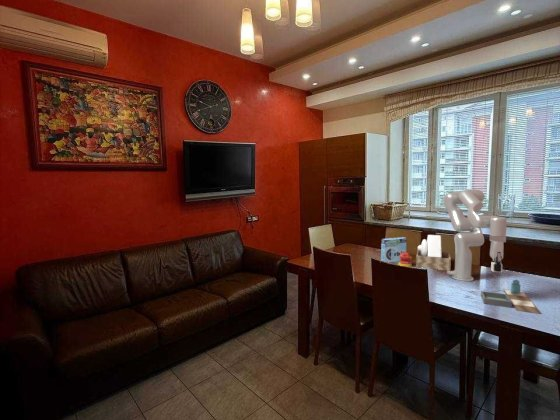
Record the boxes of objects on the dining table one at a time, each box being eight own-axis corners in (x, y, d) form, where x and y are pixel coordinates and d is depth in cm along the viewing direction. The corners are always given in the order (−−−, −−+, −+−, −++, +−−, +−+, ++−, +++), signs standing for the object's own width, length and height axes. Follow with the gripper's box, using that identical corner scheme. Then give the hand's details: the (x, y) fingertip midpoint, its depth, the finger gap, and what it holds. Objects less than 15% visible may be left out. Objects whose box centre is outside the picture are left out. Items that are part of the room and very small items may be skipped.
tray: (483, 303, 162) (484, 298, 161) (480, 296, 172) (480, 291, 172) (511, 307, 156) (511, 302, 156) (506, 299, 167) (506, 294, 167)
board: (516, 310, 153) (516, 309, 153) (503, 289, 181) (503, 289, 181) (541, 314, 148) (541, 313, 148) (524, 292, 177) (524, 292, 177)
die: (492, 271, 171) (492, 263, 171) (490, 269, 175) (491, 261, 175) (502, 272, 169) (503, 264, 168) (500, 270, 173) (501, 262, 173)
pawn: (511, 293, 175) (512, 280, 174) (510, 291, 178) (511, 278, 177) (520, 294, 173) (521, 281, 172) (519, 292, 176) (520, 279, 175)
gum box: (402, 265, 236) (402, 236, 234) (406, 267, 231) (407, 238, 229) (380, 267, 231) (381, 238, 229) (384, 269, 226) (385, 239, 224)
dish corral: (415, 267, 231) (416, 255, 230) (417, 260, 251) (417, 249, 250) (450, 270, 220) (450, 258, 219) (448, 263, 241) (449, 252, 240)
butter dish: (441, 257, 223) (417, 255, 229) (438, 264, 238) (416, 262, 244) (440, 235, 230) (418, 234, 236) (438, 243, 245) (417, 242, 251)
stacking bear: (411, 281, 199) (412, 255, 197) (395, 279, 204) (396, 253, 202) (414, 276, 208) (414, 251, 206) (398, 274, 213) (399, 250, 212)
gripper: (487, 236, 180) (486, 265, 181) (492, 240, 165) (491, 273, 166) (502, 236, 177) (501, 267, 178) (509, 241, 161) (508, 274, 163)
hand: (496, 269), depth 172 cm, fingers closed on die, 4 cm apart
